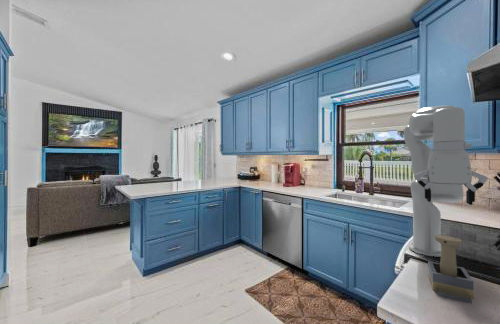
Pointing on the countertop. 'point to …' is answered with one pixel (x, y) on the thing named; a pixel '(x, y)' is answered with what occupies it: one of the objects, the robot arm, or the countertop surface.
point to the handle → (448, 254)
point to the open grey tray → (451, 283)
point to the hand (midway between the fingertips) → (448, 202)
